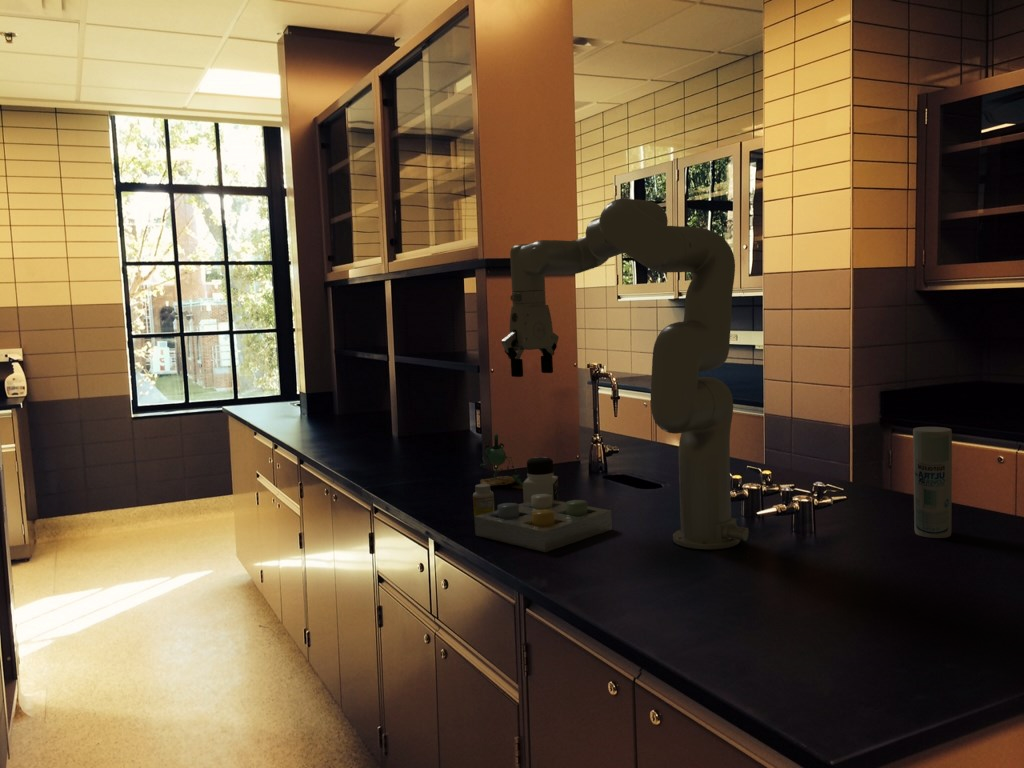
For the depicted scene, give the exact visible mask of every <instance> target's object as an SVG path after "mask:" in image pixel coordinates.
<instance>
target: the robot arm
mask: <svg viewBox="0 0 1024 768" xmlns="http://www.w3.org/2000/svg"><path fill="white" fill-rule="evenodd" d="M509 253H510V254H509V256H510V257H509V259H510V260H509V261H510V273H511V274H510V276H511V277H510V278H511V279H510V281H511V292H512V293H511V296H510V301H512V306H511V309H510V315H509V317H510V318H509V334H508V335H506V336H505V337H504V338H503V339H501V346H502V347H503V349H504V353H505V354H506V355H507V358H508V359H509V360H510V371H511V372H510V373H511V374H510V375H511V377H514V378H523V377H524V366H523V365H524V362H523V359H522V358H521V357H522V356H523V353H524V351H531V350H539V352H541V354H542V355H541V356H540V369H541V373H542V374H552V373H553V372H554V366H553V365H554V364H553V363H554V362H553V359H554V358H553V356H554V355H555V351H556V349H557V346H558V345H557V344H558V341H559V335H558V334H556V333H554V331H553V321H552V316H551V312H550V311H551V310H550V308H549V305H548V304H547V303H546V301H547V299H546V283H545V281H546V280H545V279H546V278H545V276H556V275H557V276H559V275H561V276H562V275H563V276H565V275H566V276H567V275H568V276H569V275H571V276H572V275H577V274H580V273H583V272H586V271H589V270H593V269H595V268H597V267H600V266H602V265H604V263H606V262H607V261H608V260H609V259H611V258H613V257H616V256H618V255H622V254H626V255H627V256H629V257H630V258H631V259H633V260H635V261H636V262H638V263H639V264H641V265H642V266H644V267H645V268H647V269H649V270H651V271H654V272H657V273H665V274H666V273H689V274H692V277H691V281H690V282H689V285H688V287H687V290H686V293H685V297H684V298H685V299H684V316H683V321H677V322H673V323H671V324H668V325H667V326H665V327H664V328H663V329H662V330H661V331H660V332H659V333H658V336H657V337H656V339H655V342H654V344H653V345H654V346H653V349H652V350H653V351H652V358H651V359H652V362H651V381H650V382H651V383H650V410H651V415H652V418H653V420H654V423H655V424H656V425H657V426H658V427H659V428H660V429H661V430H662V431H664V432H665V433H669V434H676V435H677V434H680V438H679V443H678V477H679V478H678V481H679V483H678V485H679V512H680V515H679V516H680V529H678V530H676V531H675V532H674V533H673V534H672V541H673V543H675V544H676V545H678V546H681V547H683V548H688V549H694V550H707V551H708V550H723V549H727V548H728V549H729V548H732V547H735V546H738V544H739V543H740V542H741V541H744V542H745V541H747V540H748V538H749V532H750V531H749V530H750V529H749V527H744V526H738V525H737V518H735V517H732V505H731V504H732V502H731V499H732V497H731V496H732V495H731V470H730V469H731V465H730V464H731V462H730V461H731V456H730V455H731V454H730V453H731V448H730V443H731V442H730V441H731V427H732V422H733V415H734V398H733V394H732V391H731V390H730V388H729V387H728V386H727V385H726V384H725V382H724V381H722V380H720V379H718V378H716V377H711V376H699V373H700V372H706V371H707V372H708V371H711V370H715V369H717V368H720V367H722V365H724V364H725V363H726V361H727V359H728V357H729V353H730V343H731V326H732V313H733V312H732V302H733V301H732V300H733V290H734V284H735V277H736V276H735V275H736V274H735V273H736V259H735V255H734V252H733V249H732V247H731V246H730V244H729V243H728V241H727V240H725V238H724V237H722V236H721V235H720V234H718V233H717V232H715V231H712V230H710V229H707V228H703V227H697V226H681V225H680V226H678V225H668V216H667V213H666V210H665V209H663V208H662V206H661V205H659V204H658V203H656V202H654V201H650V200H646V199H644V200H643V199H635V198H617V199H615V200H613V201H610V202H609V203H607V205H606V206H605V207H604V208H603V209H602V211H601V212H600V216H599V217H596V218H595V219H592V220H591V221H589V223H588V224H587V226H586V230H585V236H582V237H579V238H578V239H574V240H562V239H561V240H557V239H556V240H555V239H553V240H551V239H550V240H549V239H548V240H547V239H546V240H545V239H542V240H537V241H533V242H532V243H524V244H515V245H513V246H512V247H511V248H510V250H509Z"/></svg>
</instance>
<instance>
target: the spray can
mask: <svg viewBox="0 0 1024 768" xmlns="http://www.w3.org/2000/svg"><path fill="white" fill-rule="evenodd" d="M912 445H913V448H912V449H913V450H912V453H913V455H912V456H913V511H914V512H913V513H914V514H913V518H914V519H913V521H914V526H913V527H914V529H913V530H914V533H915V534H916V535H917V536H919V537H925V538H929V539H945V538H949V537H950V536H952V510H953V509H952V491H953V490H952V486H953V485H952V483H953V481H952V476H953V474H952V473H953V471H952V470H953V466H952V465H953V464H952V463H953V461H952V460H953V455H952V454H953V431H952V428H948V427H941V426H918V427H913V430H912Z"/></svg>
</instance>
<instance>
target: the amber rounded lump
mask: <svg viewBox="0 0 1024 768" xmlns="http://www.w3.org/2000/svg"><path fill="white" fill-rule="evenodd" d="M554 524H555V521H554V511H552V510H536V511H533V512H532V525H533V526H538V527H542V528H545V527H548V526H551V525H554Z"/></svg>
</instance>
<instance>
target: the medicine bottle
mask: <svg viewBox="0 0 1024 768" xmlns="http://www.w3.org/2000/svg"><path fill="white" fill-rule="evenodd" d="M526 473H527V474H526V476H527V478H525V480H524V481H523V489H522V495H523V496H522V497H523V503H525V502H529V501H532V496H533V495H536V494H550V495H552V500H556V501H560V491H559V489H560V488H559V476H557V475H555V474H554V461H553V459H552V458H549V457H547V456H536V457H531V458H529V459H528V460H527V461H526Z"/></svg>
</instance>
